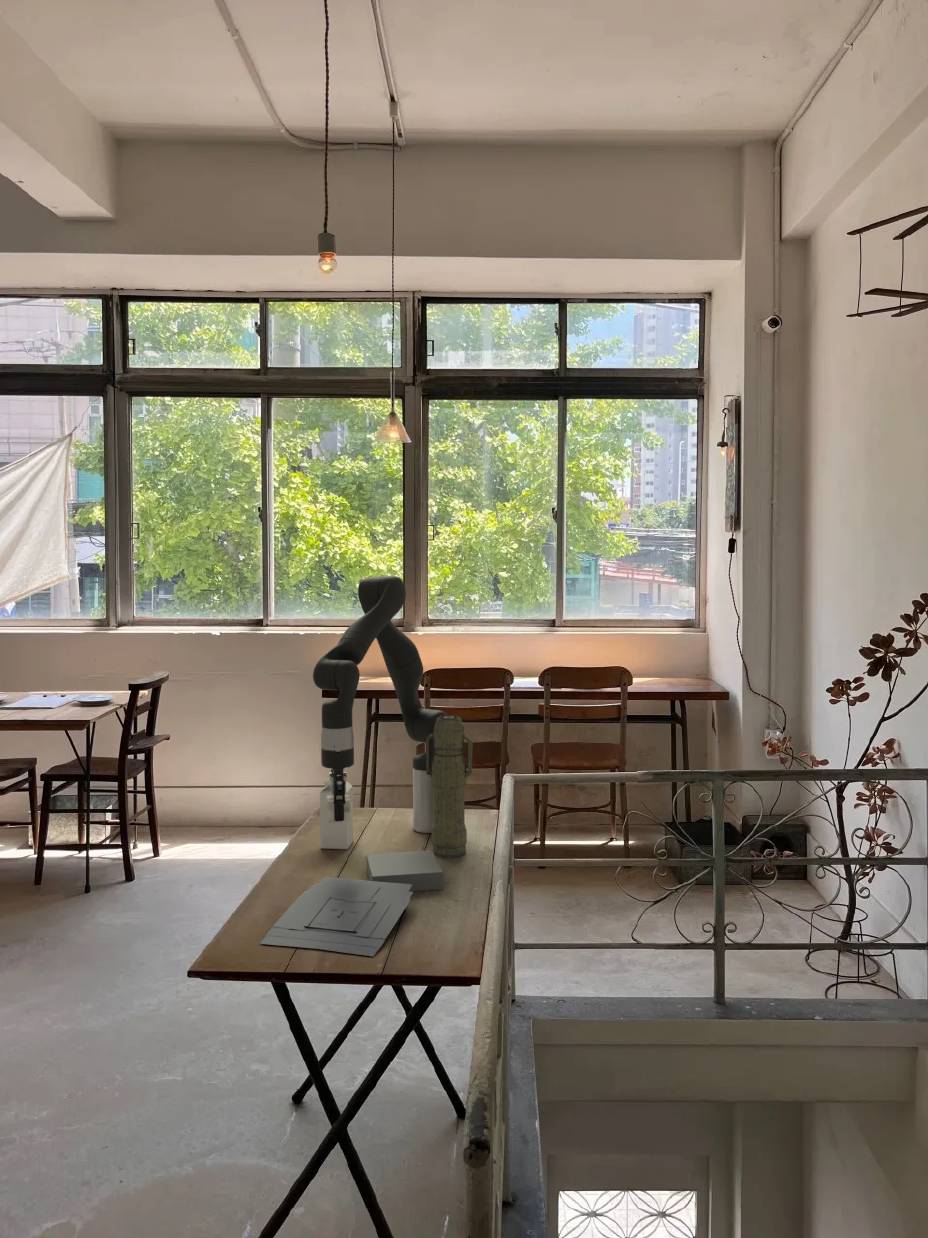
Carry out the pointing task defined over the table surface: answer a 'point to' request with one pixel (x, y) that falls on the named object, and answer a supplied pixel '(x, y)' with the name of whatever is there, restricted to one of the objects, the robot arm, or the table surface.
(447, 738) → the thermos
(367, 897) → the papers
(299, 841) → the table surface
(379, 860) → the charcoal plinth
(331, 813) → the cream cube
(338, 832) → the milk carton
